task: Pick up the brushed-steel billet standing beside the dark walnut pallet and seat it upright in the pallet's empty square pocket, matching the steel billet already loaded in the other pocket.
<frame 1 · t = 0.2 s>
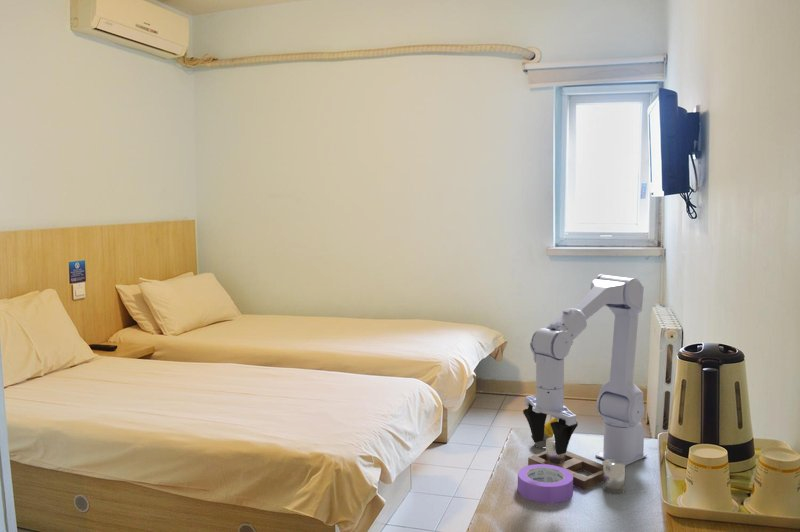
hand: (549, 447, 151), 10 cm above the table, fingers open, 7 cm apart
pallet: (569, 471, 161), on the table
billet: (613, 489, 152), on the table
masking tape: (545, 492, 152), on the table
drill bit: (544, 444, 178), on the table
loaded billet: (555, 465, 165), resting in pallet
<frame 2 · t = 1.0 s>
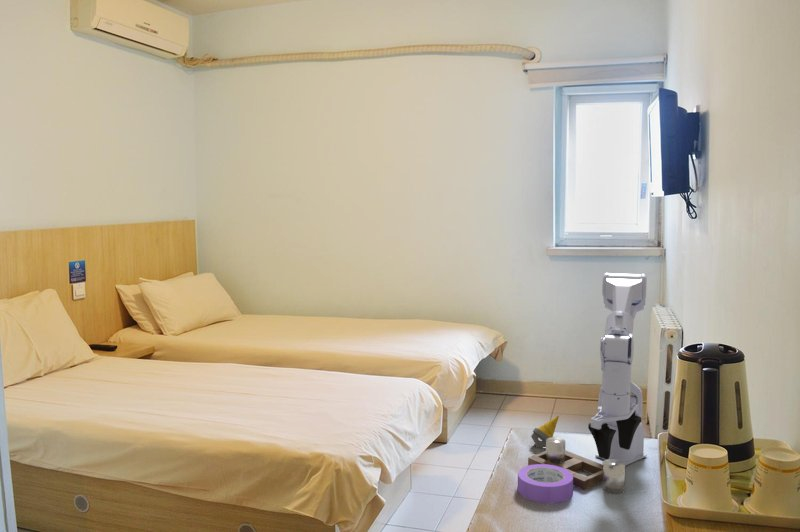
hand: (614, 453, 151), 8 cm above the table, fingers open, 7 cm apart
nothing on the table moved.
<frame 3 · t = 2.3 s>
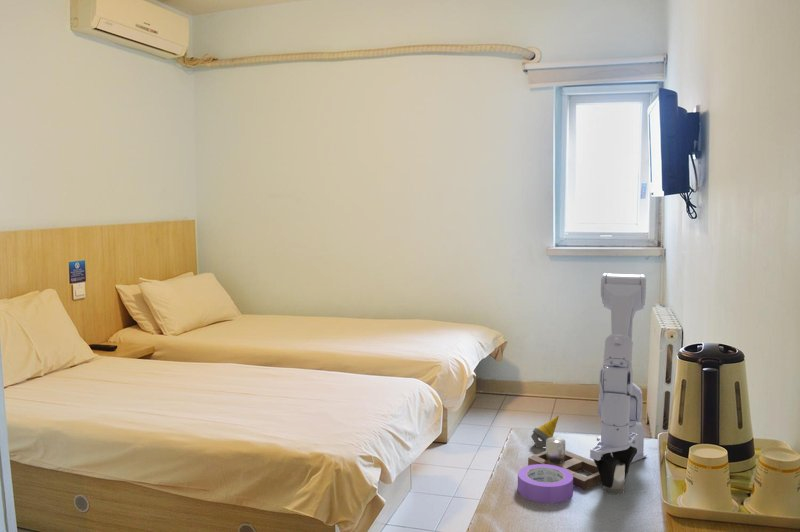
hand: (613, 482, 152), 2 cm above the table, fingers closed on billet, 4 cm apart
billet: (613, 489, 152), on the table, touching gripper
everything else where it was.
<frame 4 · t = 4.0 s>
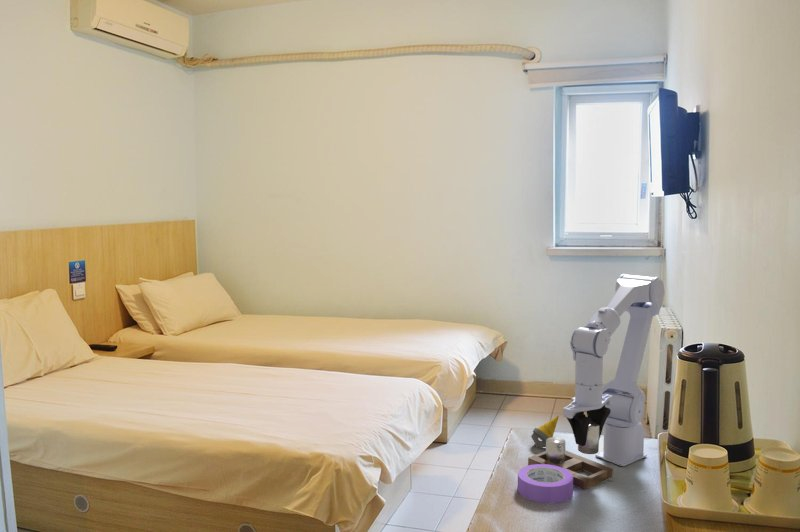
hand: (587, 441, 156), 9 cm above the table, fingers closed on billet, 4 cm apart
billet: (588, 450, 157), point 7 cm above the table, touching gripper
everything else where it was.
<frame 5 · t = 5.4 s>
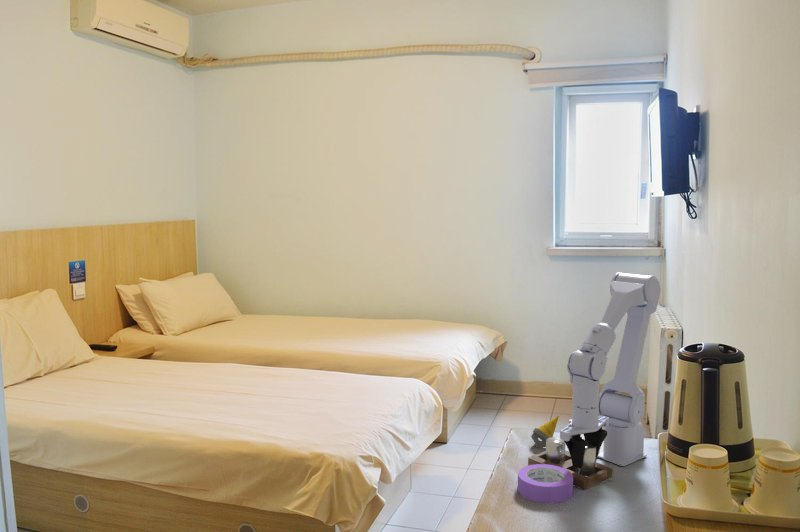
hand: (584, 463, 158), 3 cm above the table, fingers closed on billet, 4 cm apart
billet: (584, 471, 158), point 1 cm above the table, touching gripper
everything else where it was.
when the fingers open (3 cm above the table, at t = 6.2 s): billet drops 1 cm, resting in pallet.
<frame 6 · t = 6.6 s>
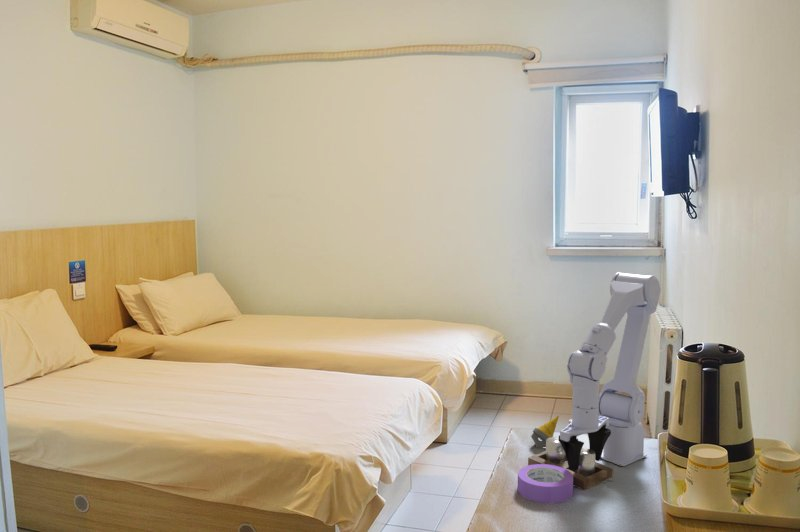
hand: (584, 463, 158), 3 cm above the table, fingers open, 7 cm apart
billet: (584, 477, 158), resting in pallet
everything else where it was.
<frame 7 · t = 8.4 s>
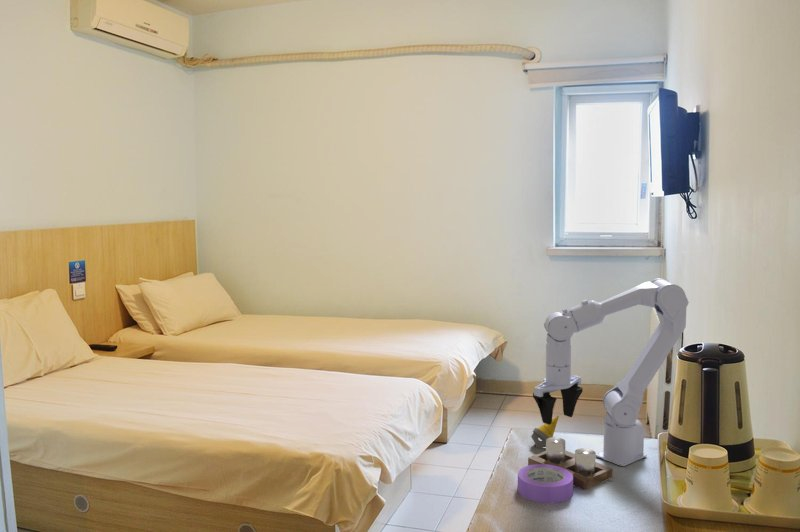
hand: (557, 419, 168), 9 cm above the table, fingers open, 7 cm apart
nothing on the table moved.
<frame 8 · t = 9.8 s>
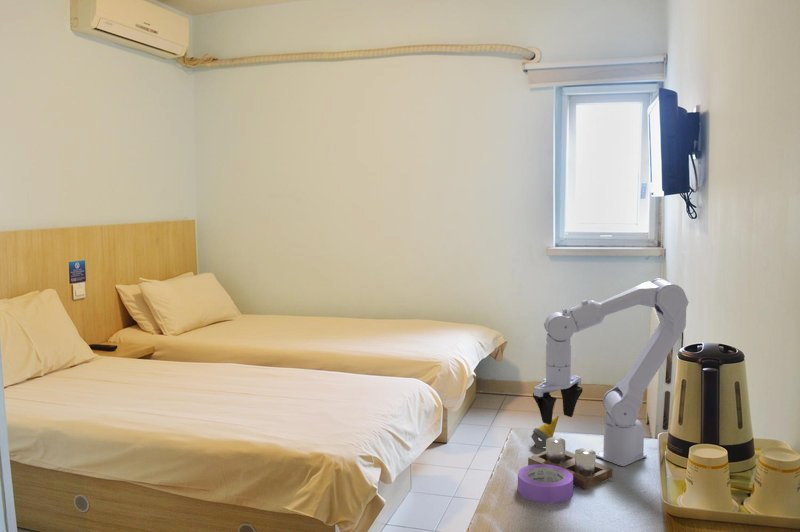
hand: (557, 419, 168), 9 cm above the table, fingers open, 7 cm apart
nothing on the table moved.
at the end: billet 0.1 cm from the target spot on the pallet, point 0.0 cm above the pallet's base; billet tilted 0°; the gripper is holding nothing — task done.
